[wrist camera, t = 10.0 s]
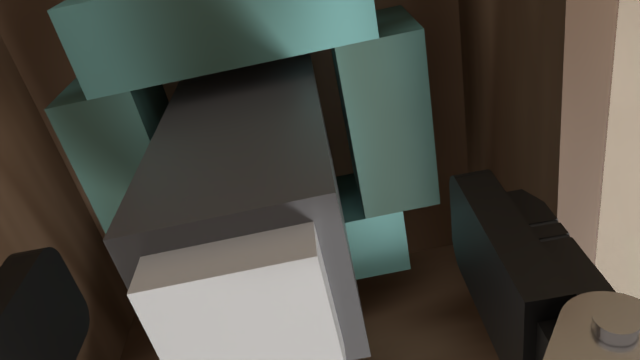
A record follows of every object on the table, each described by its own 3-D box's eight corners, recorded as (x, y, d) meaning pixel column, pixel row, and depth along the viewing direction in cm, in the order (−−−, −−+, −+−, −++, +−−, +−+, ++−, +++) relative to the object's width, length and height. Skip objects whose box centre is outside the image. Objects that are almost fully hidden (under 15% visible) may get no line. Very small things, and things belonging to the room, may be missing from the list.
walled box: (471, -214, 15) (645, -296, 8) (489, 240, 23) (582, 401, 16) (-78, -89, 15) (-375, -60, 8) (128, 312, 23) (65, 497, 16)
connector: (308, 47, 17) (342, 225, 8) (332, 160, 19) (378, 396, 10) (182, 75, 17) (84, 277, 8) (219, 184, 19) (172, 435, 11)
